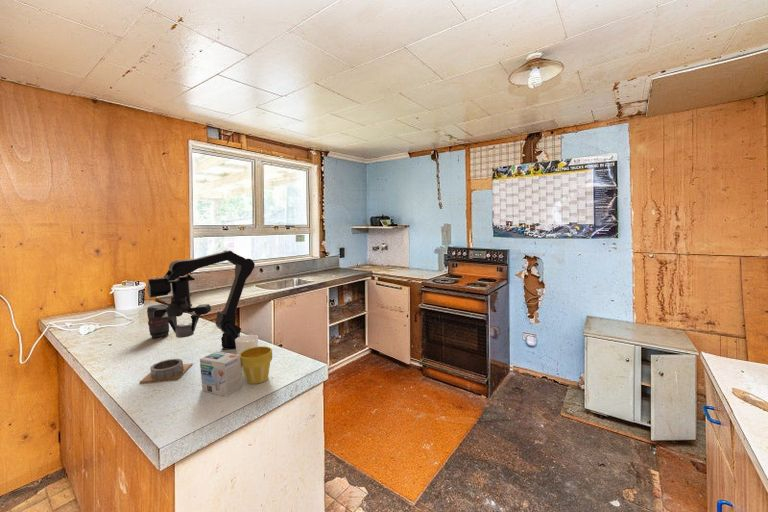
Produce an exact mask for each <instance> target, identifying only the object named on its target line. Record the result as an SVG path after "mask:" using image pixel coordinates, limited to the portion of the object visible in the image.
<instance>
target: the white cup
mask: <svg viewBox="0 0 768 512" xmlns="http://www.w3.org/2000/svg"><path fill="white" fill-rule="evenodd" d="M258 341H259V336H258V335H257V334H244V335H241V336H240V337H238V338H236V339H235V343H236V348H235V349H236V355H239V354H240V353H241V352H242V351H244V350H246V349H249V348H253V347H259V342H258ZM241 368H243V367H242V366H241Z"/></svg>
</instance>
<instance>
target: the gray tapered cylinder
mask: <svg viewBox="0 0 768 512" xmlns="http://www.w3.org/2000/svg"><path fill="white" fill-rule="evenodd" d="M175 331H176V333H175V337H176V338H179V339H182V338H188V337H191V336H194V335H195V331H194V332H193V331H192V322H185V323H178V324H177V325H176V326H175Z"/></svg>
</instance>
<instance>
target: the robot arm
mask: <svg viewBox="0 0 768 512" xmlns="http://www.w3.org/2000/svg"><path fill="white" fill-rule="evenodd" d="M225 261H226V262H229V263H230V264H232V265H234V266H235V267H234V280H233V282H232V285H231V288H230V290H229V294H228V297H227V300H226V303H225V306H224V309H223V310H222V311H218V312H217V313H216V318H215V319H214V321H215V327H216V328H218V329H219V330H220V331H221V332H222V336H221V347H222V348H221V350H232V349H233V348H234V349H236V343H235V339H236V338H238V337H240V335H241V332H242V328H241V327H239V326H238V325H237V324H236V322H237V321H236V320H237V309H238V305H239V301H240V299H241V295H242V294H243V290H244V288H245V283H246V282H247V281H246V280H247V279H248V278H249V276H251V275H252V272H253V270H254V268H255V266H256V265H255V264H256V263H255V261H254V260H253V259H251V258H248V257H243V256H241V255H238V254H237V253H235V252H234V251H232V250H227V249H225V250H223V251H219V252H216V253H212V254H208V255H204V256H200V257H196V258H191V259H178V260H176V259H175V260H174V261H172V262H170V264H169V265H168V270H167V272H166V273H165V274H164V275H163V277H160V278H148V279H147V287H146V290H147V294H148V297H149V299H150V298H157V297H165V296H168V295H169V294H170V293H172V296H171V298H170V303H169V304H168V305H167V307H160V308H158V309H156V310H154V312H153V317H154V318H156V317H162V319H165V320H167V321H168V322H169V326H170V327H171V329H172V331H173V333H175V334H176V331H175V326H176V325H178V320H177V319H178V318H177V317H181V316H183V313H184V314H185V313H186V314H187V313H192V315H190V318H191V323H192V331H193V332H194V333H195V330H196V328H197V324H198V321H199V320H200V316H202V315H207V314H208V313H209V312H212V311H211V310H212V308H211V307H212V306H211V305H210V304H209V303H205V304H204V303H203V304H199V305H197V306H195V307H194V306H193V303H191V297H192V293H191V292H190V291H191V290H190V281H195V278H194V277H193V276H192V275H190V274H191V273H193V272H194V271H197V270H198V269H201V268H204V267H208V266H211V265H215V264H218V263H222V262H223V263H224V262H225Z"/></svg>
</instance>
